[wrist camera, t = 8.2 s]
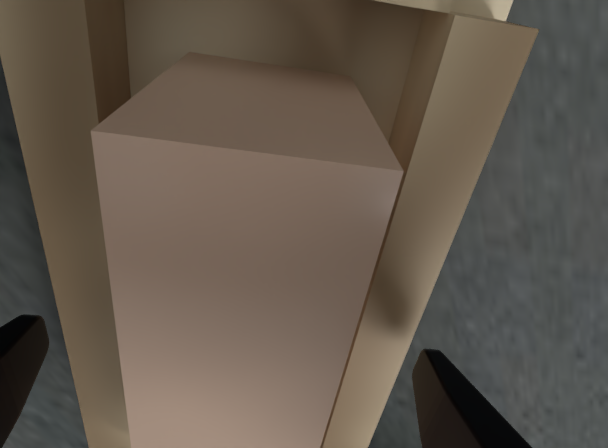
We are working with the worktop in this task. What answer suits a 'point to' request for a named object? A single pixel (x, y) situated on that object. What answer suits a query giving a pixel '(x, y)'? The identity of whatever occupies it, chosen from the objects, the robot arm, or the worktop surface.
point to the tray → (278, 51)
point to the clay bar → (239, 248)
